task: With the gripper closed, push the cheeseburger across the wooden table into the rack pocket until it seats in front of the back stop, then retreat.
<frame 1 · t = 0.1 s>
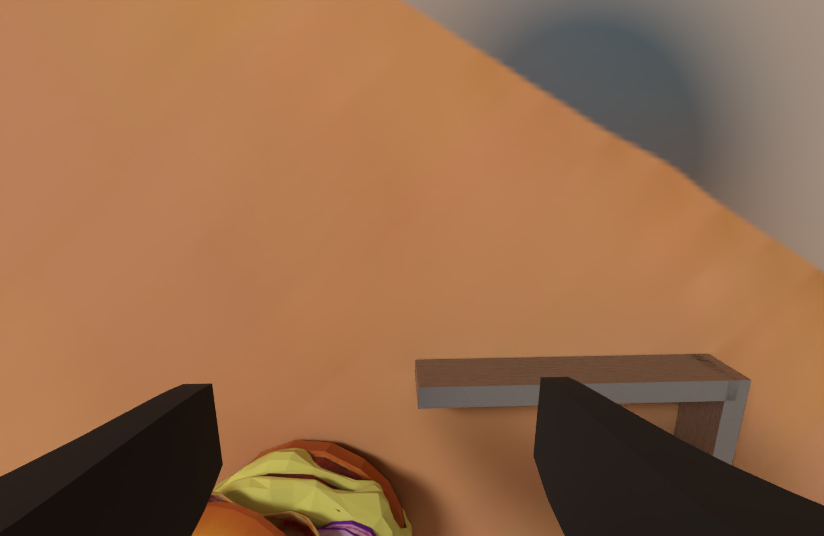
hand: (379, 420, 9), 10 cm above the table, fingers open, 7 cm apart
cheeseburger: (302, 505, 22), on the table
rack: (545, 501, 22), on the table
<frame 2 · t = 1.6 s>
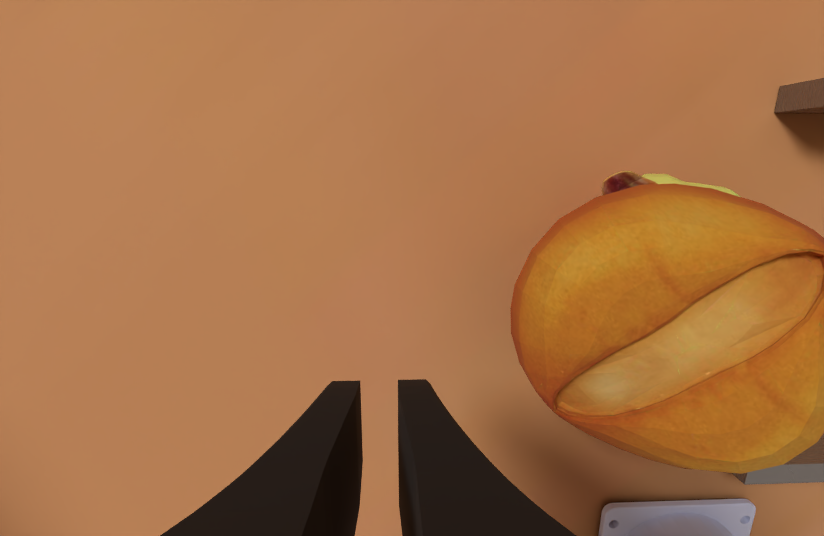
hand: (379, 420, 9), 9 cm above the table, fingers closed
cheeseburger: (608, 287, 19), on the table
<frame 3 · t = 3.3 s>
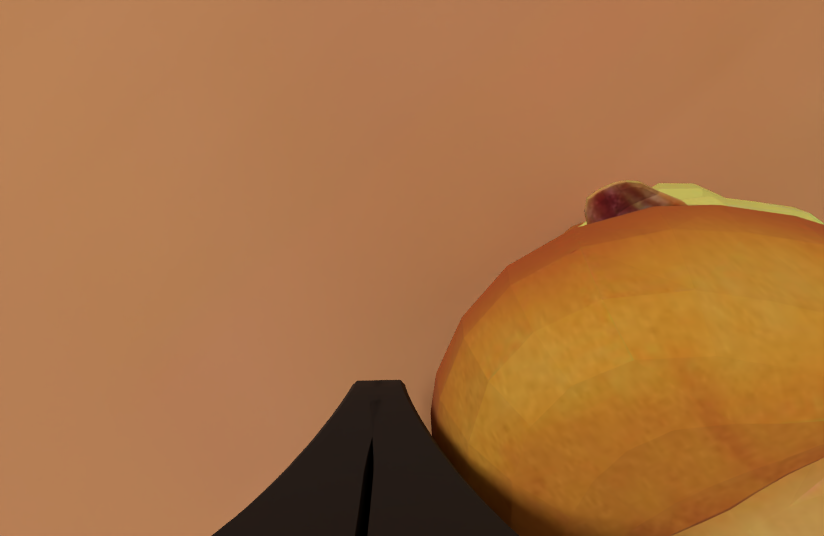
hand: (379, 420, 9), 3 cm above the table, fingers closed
cheeseburger: (600, 346, 13), on the table, touching gripper
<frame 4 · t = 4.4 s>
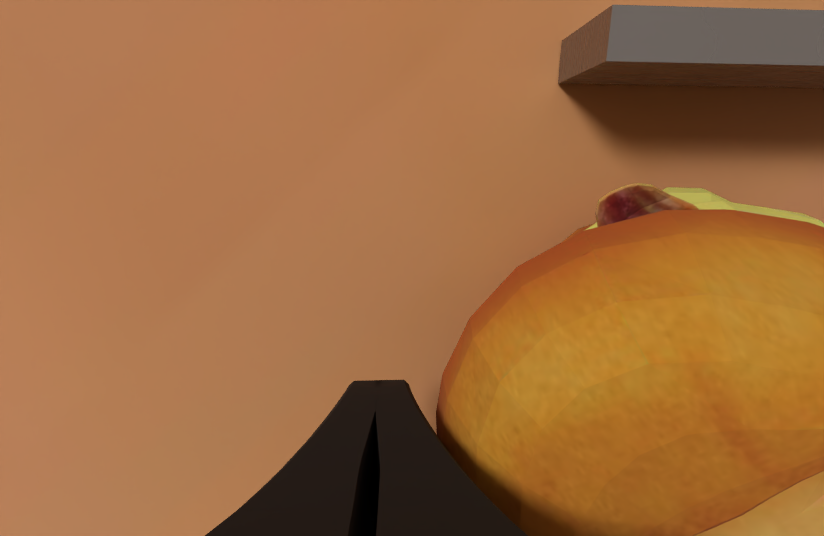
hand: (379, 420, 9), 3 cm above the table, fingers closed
cheeseburger: (603, 349, 13), on the table, touching gripper
rack: (755, 347, 13), on the table
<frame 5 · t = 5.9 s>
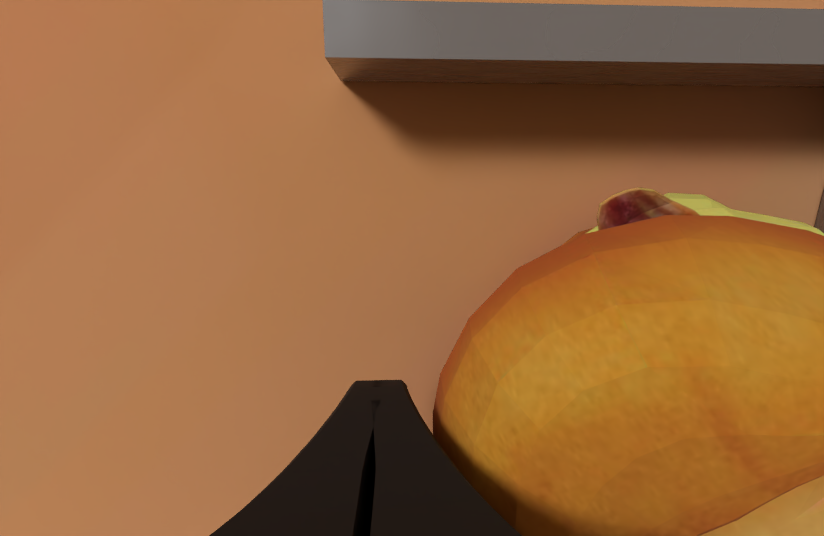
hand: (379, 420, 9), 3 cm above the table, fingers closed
cheeseburger: (600, 353, 13), on the table, touching gripper, rack
rack: (580, 348, 13), on the table
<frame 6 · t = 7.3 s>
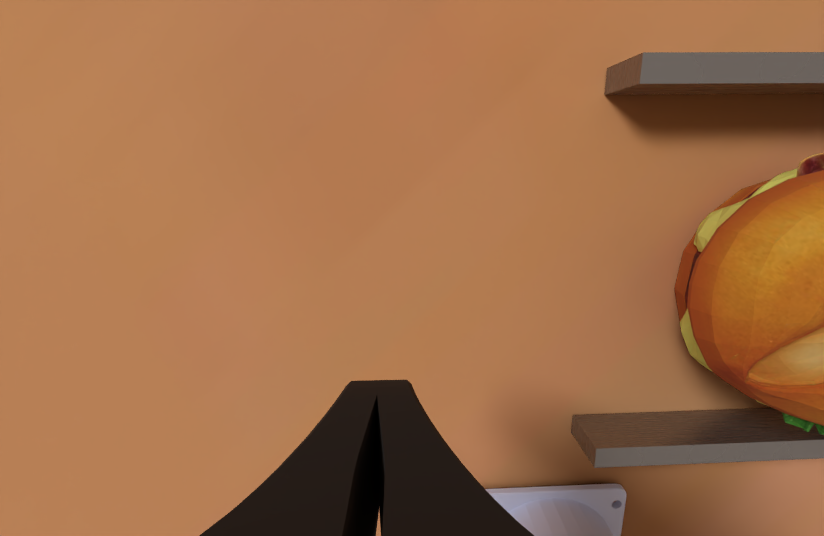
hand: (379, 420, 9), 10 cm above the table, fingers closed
cheeseburger: (744, 272, 20), on the table
rack: (735, 267, 19), on the table
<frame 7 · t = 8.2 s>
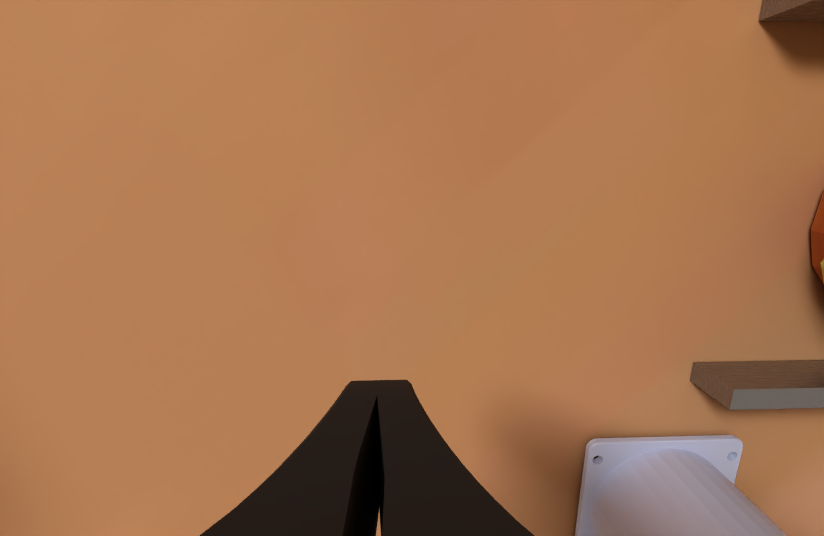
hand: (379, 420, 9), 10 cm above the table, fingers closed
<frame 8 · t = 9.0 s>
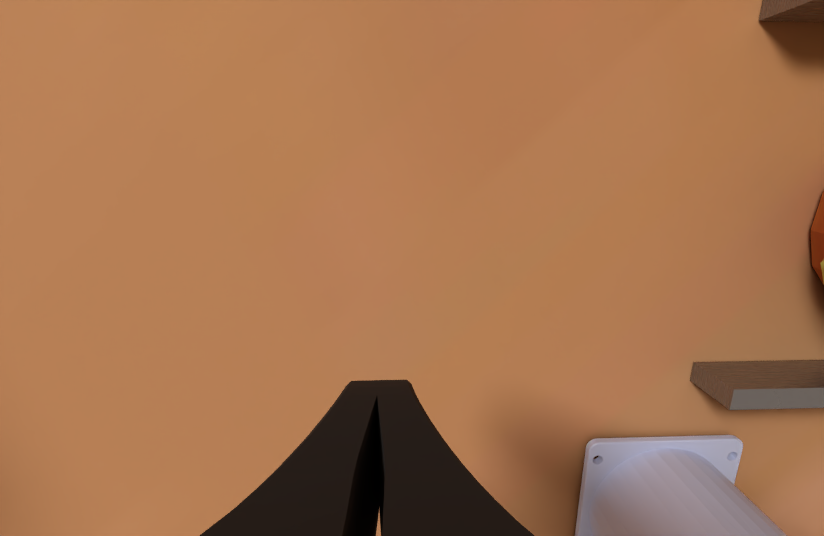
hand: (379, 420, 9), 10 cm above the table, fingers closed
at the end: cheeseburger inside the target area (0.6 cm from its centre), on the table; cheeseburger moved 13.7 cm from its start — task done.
